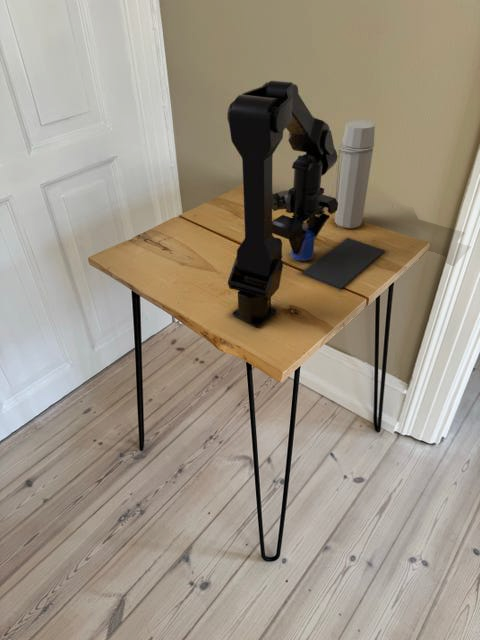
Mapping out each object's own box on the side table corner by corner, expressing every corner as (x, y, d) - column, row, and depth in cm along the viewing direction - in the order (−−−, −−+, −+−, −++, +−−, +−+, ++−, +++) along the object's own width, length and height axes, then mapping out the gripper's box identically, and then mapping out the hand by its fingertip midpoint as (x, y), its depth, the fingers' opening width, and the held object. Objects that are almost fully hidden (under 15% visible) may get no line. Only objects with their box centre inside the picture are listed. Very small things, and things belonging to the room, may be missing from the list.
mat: (340, 289, 98) (341, 287, 98) (301, 273, 103) (301, 272, 103) (384, 252, 110) (385, 250, 110) (347, 239, 115) (347, 237, 115)
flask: (305, 263, 106) (307, 231, 101) (286, 256, 108) (288, 224, 104) (317, 254, 109) (320, 223, 104) (299, 247, 112) (301, 216, 107)
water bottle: (360, 217, 125) (374, 119, 109) (363, 231, 118) (379, 129, 103) (326, 216, 125) (335, 119, 110) (327, 230, 119) (337, 129, 104)
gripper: (300, 163, 108) (297, 225, 117) (249, 189, 97) (250, 254, 106) (342, 174, 102) (335, 237, 112) (293, 202, 91) (290, 270, 101)
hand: (302, 249), depth 108 cm, fingers closed on flask, 5 cm apart
